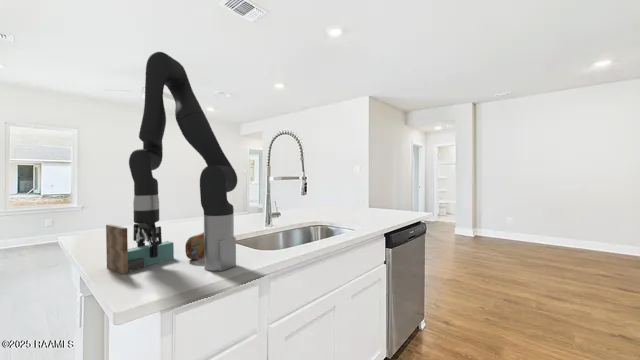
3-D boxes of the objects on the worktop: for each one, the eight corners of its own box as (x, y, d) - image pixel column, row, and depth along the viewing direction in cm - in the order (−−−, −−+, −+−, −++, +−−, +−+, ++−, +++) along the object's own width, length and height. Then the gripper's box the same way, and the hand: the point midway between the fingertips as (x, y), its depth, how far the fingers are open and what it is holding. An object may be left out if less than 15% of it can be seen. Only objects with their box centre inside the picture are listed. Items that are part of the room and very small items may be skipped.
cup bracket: (147, 268, 92) (146, 225, 92) (123, 274, 86) (122, 228, 86) (129, 262, 99) (128, 222, 98) (106, 267, 93) (106, 224, 93)
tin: (191, 262, 98) (191, 238, 98) (183, 262, 99) (183, 238, 99) (216, 251, 113) (215, 230, 113) (208, 250, 114) (208, 229, 113)
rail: (173, 258, 103) (173, 242, 103) (124, 271, 90) (124, 252, 90) (167, 257, 105) (167, 241, 105) (118, 269, 92) (118, 250, 92)
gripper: (168, 208, 97) (169, 256, 97) (147, 206, 104) (148, 250, 105) (145, 210, 90) (146, 261, 91) (124, 208, 98) (125, 255, 98)
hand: (147, 255), depth 98 cm, fingers open, 8 cm apart
